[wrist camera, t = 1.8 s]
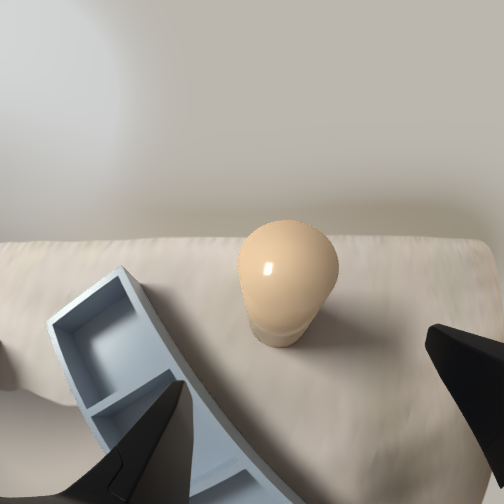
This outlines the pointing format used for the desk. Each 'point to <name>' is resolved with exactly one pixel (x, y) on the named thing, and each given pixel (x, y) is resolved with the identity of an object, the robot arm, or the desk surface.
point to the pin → (285, 279)
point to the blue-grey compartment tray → (152, 389)
